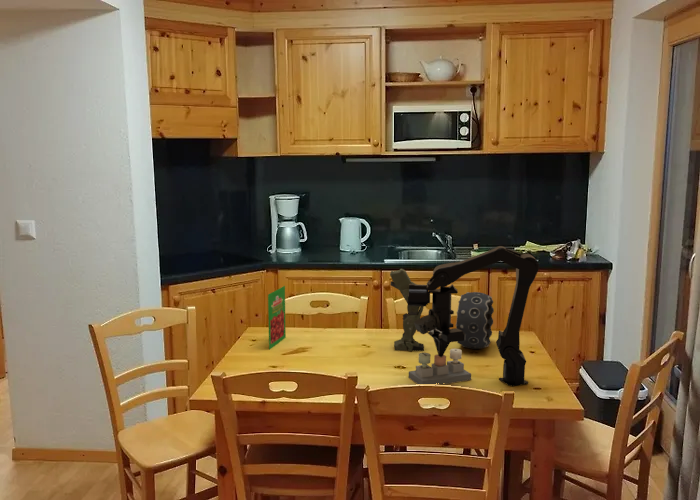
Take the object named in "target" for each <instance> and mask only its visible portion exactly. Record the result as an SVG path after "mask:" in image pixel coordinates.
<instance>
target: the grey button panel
mask: <svg viewBox="0 0 700 500" xmlns="http://www.w3.org/2000/svg"><path fill="white" fill-rule="evenodd" d="M408 378H409V379H410V380H411V381H413V382H414V383H415V384H417V385H418V384H436V383H437V384H438V383H439V384H442V385H447V384H452V383H453V384H454V383H460V382H465V381H466V382H467V381H472V373H471V372H470V371H467V370H466V369H465V363H463V362H461V361H460V360H458V364H453V360H446V365H443V366H438V365H435V364H434V362H433V363H431V366H430V365H429V364H427V368H424V369H423V368H422V364H420V365H415V370H410V371H408ZM443 383H445V384H443Z"/></svg>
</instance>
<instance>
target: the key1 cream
mask: <svg viewBox="0 0 700 500" xmlns="http://www.w3.org/2000/svg"><path fill="white" fill-rule="evenodd" d="M462 353H463V351H462V349H460V348H450V349H449V359H450V360H452V361H453V364H458V361H459V360H461V359H462V355H463V354H462Z"/></svg>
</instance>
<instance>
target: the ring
mask: <svg viewBox="0 0 700 500" xmlns="http://www.w3.org/2000/svg"><path fill="white" fill-rule="evenodd" d="M493 303H494V300H493V297H492V296H490V295H489V294H486V293H484V292H480V291H479V292H478V291H473V292H469V291H468V292H466V293H464V294H461V295H460V298H459V300H458V305H457V311H456V322H455V328H457V329H459V330H462V331H463V332H464V333H465V340H464V341H457V342H456V343H457V344H459V345H461V346H462V347H463V348H468V349H473V350H480V349H485V348H487V347H490V344H491V339H490V338H491V337H492V335H493V331H492V328H491V327H492V326H493V324H494V319H493V317H492V315H493V313H494V310H495V309H494V307H493Z"/></svg>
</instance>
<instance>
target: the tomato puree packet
mask: <svg viewBox="0 0 700 500" xmlns="http://www.w3.org/2000/svg"><path fill="white" fill-rule="evenodd" d="M267 304H268V305H267V313H268V350H271V349H273V348H274V347H276V345H279V344H280V342H282V341H283V340H285V339H286V338H287V337H286V336H287V335H286V286H285V285H283V286H282V287H280V288H278V289H276V290H274V291H273V292H270V293H269V294H267Z"/></svg>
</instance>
